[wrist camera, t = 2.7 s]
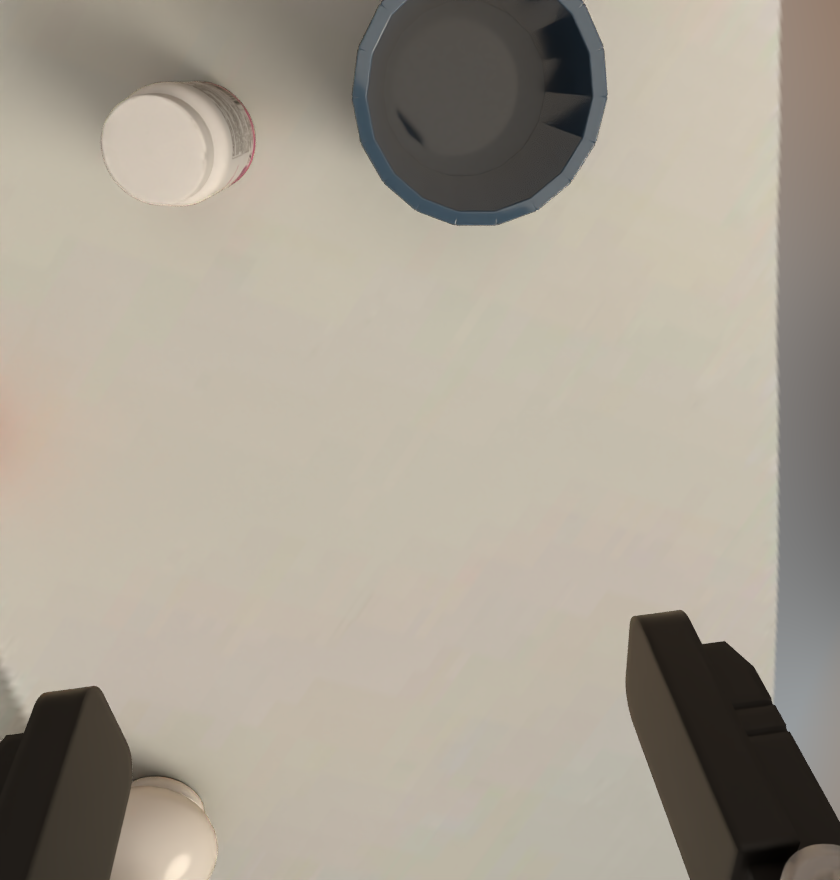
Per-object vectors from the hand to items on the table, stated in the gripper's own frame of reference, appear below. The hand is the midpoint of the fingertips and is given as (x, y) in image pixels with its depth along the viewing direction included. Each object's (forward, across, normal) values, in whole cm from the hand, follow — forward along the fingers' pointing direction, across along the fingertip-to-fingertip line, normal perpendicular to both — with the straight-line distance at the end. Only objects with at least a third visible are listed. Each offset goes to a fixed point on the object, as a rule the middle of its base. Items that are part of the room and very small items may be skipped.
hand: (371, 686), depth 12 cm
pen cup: (+31, -6, -2) cm, 32 cm away
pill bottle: (+32, +6, -2) cm, 33 cm away
